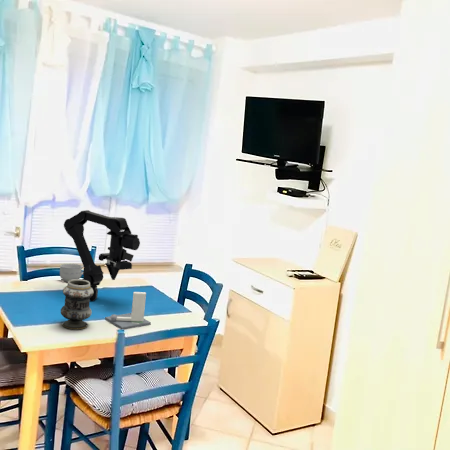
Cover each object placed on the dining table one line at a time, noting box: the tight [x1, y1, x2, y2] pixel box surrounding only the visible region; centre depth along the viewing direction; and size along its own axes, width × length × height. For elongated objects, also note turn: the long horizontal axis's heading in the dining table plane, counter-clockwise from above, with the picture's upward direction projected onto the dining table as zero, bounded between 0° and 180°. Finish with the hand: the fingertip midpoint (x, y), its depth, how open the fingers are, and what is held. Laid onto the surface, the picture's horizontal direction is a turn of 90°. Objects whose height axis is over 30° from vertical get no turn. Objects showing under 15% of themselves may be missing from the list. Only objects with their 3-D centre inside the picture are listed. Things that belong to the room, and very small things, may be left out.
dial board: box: [104, 312, 151, 330], centre depth 227 cm, size 13×14×1 cm
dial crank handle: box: [110, 291, 147, 321], centre depth 225 cm, size 2×13×12 cm, turn 104°
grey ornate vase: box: [60, 278, 94, 331], centre depth 215 cm, size 12×12×18 cm
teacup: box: [59, 263, 84, 283], centre depth 275 cm, size 14×11×8 cm
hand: (113, 279), depth 244 cm, fingers closed
